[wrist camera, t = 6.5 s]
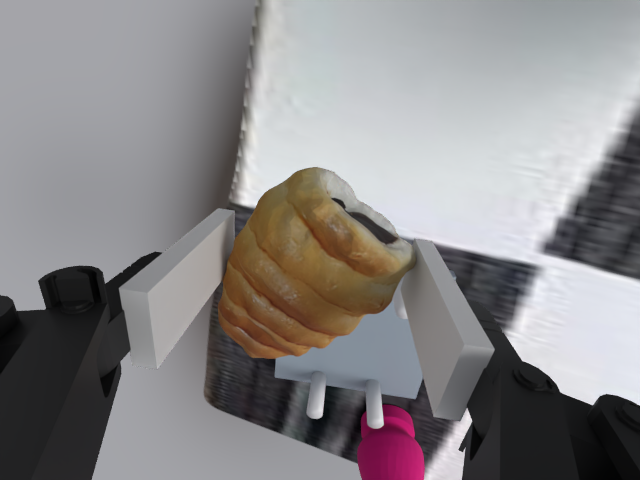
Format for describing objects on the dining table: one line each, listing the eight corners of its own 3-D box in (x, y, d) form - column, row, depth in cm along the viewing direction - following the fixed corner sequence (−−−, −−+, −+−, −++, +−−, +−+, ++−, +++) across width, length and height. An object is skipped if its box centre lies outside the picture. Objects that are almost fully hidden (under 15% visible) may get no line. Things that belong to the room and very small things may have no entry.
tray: (284, 247, 30) (269, 278, 24) (452, 270, 29) (474, 307, 24) (277, 368, 36) (264, 413, 31) (413, 389, 35) (423, 439, 30)
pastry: (300, 358, 17) (286, 421, 14) (197, 289, 16) (153, 339, 13) (423, 240, 14) (447, 285, 10) (303, 142, 13) (284, 155, 9)
